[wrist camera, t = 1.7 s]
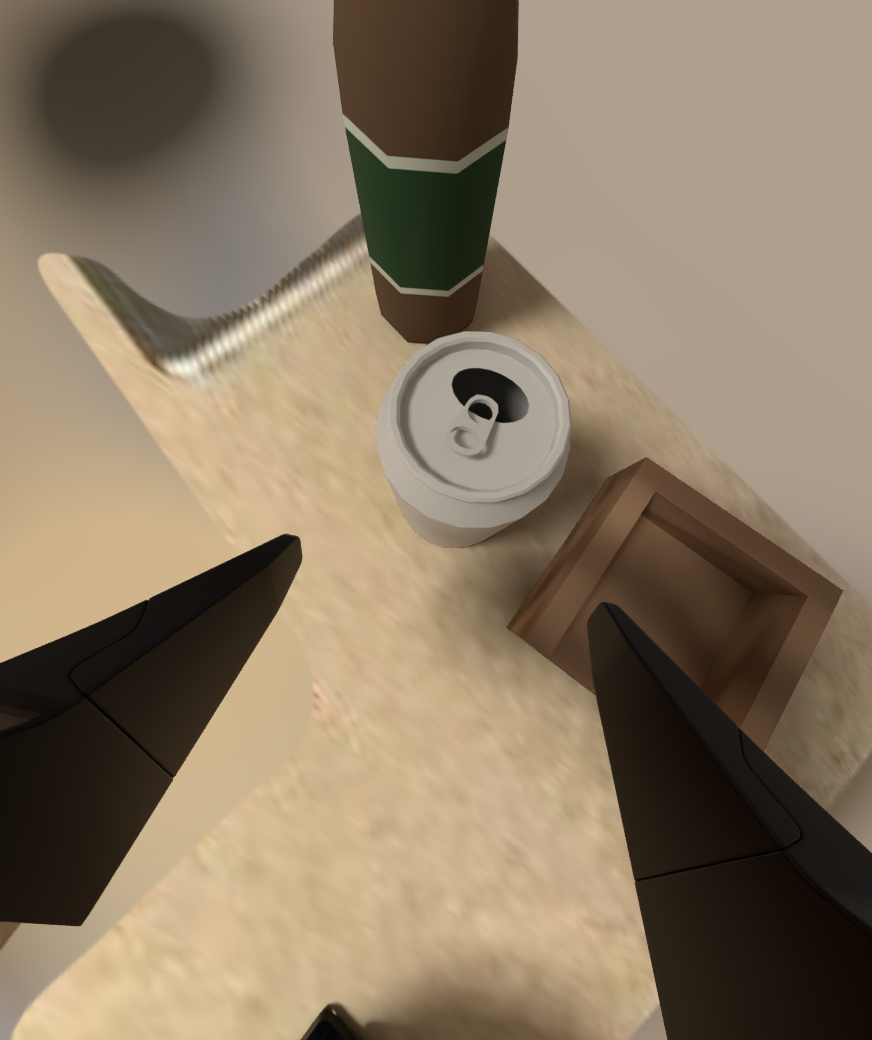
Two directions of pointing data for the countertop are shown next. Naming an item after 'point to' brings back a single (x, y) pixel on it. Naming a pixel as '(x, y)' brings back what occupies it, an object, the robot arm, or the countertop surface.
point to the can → (472, 436)
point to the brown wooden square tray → (683, 595)
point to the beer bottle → (426, 146)
